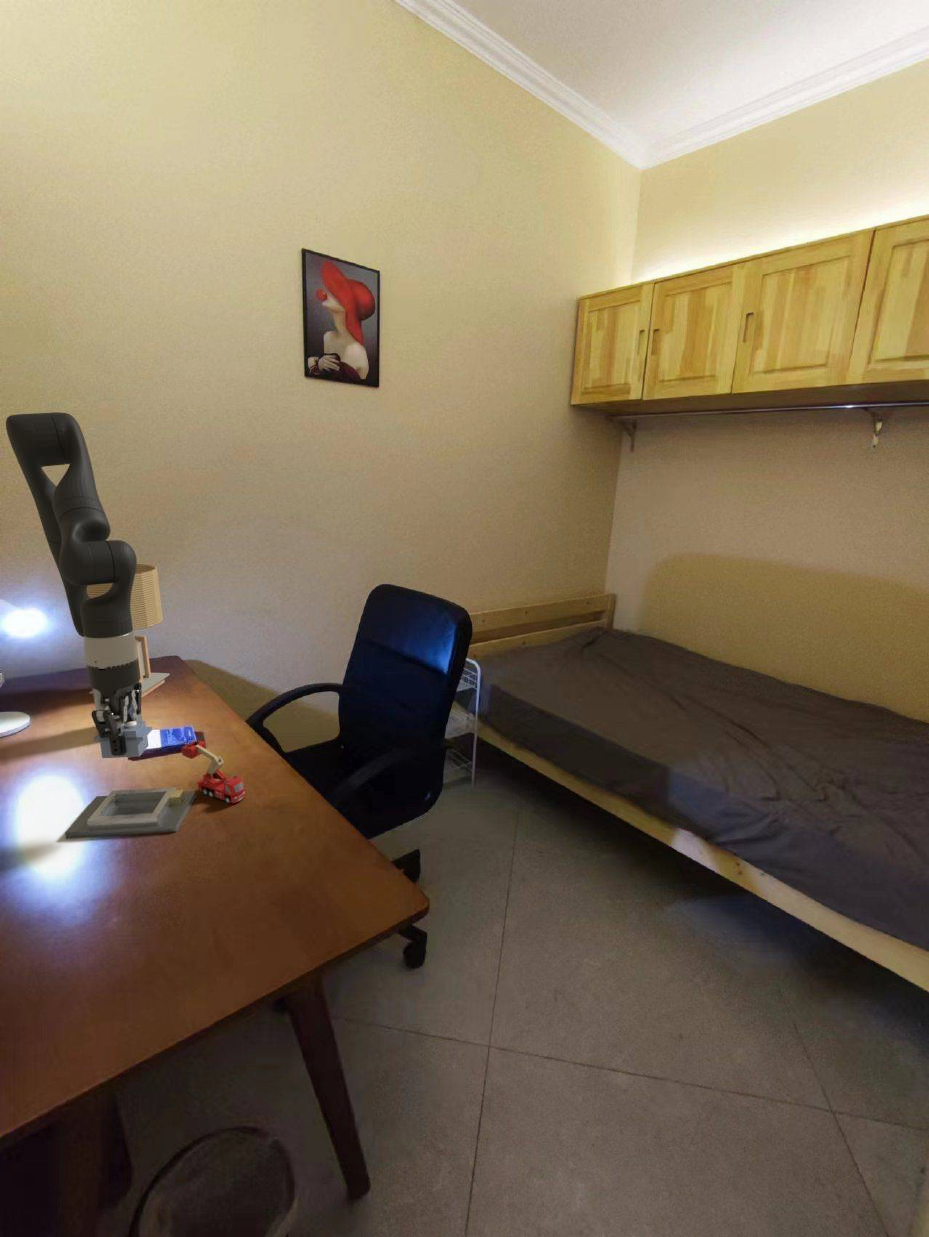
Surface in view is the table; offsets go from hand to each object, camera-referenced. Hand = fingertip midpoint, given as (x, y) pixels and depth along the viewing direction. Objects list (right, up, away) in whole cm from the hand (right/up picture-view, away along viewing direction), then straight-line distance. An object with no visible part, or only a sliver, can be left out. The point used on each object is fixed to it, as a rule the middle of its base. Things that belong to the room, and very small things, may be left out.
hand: (125, 747), depth 97 cm
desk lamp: (-35, +2, +59) cm, 69 cm away
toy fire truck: (+11, -12, +12) cm, 20 cm away
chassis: (0, -14, +4) cm, 14 cm away
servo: (0, -1, 0) cm, 1 cm away
